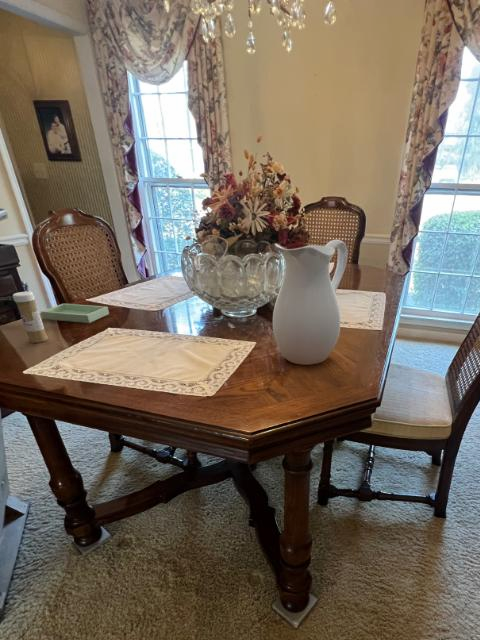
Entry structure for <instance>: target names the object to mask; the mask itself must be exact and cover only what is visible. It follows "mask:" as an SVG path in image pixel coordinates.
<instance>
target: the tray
mask: <svg viewBox="0 0 480 640" xmlns="http://www.w3.org/2000/svg"><path fill="white" fill-rule="evenodd" d="M109 315H110V311H109V307H108V306H102V305H88V304H75V303H61V304H58V305H55V306H52V307H49V308H47V309H44V310H41V311H40V316H41V317H42V320H50V321H60V322H61V321H62V322H63V321H64V322H73V323H74V322H75V323H86V324H90V323H93V322H95V321H96V320H99V319H101V318H103V317H106V316H109Z"/></svg>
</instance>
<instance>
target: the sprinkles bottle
mask: <svg viewBox="0 0 480 640" xmlns="http://www.w3.org/2000/svg"><path fill="white" fill-rule="evenodd" d="M12 297H13V298H14V301H15V302H16V304H17V306H18V309H19V310H18V311H19V314H20V318H21V321H22V324H23V326H24V330H25V331H26V334H27V336H28V337H27V338H28V341H29V342H30V343H31V344H39V343H43V342H46V341H48V339H49V338H48V336H47V333H46V330H45V326H44V324H43V319H42V318H41V317H42V316H41V313H40V312H39V309H38V307H37V304H36V301H35V299H36V298H35V296H34V293H33V292H32V291H19V292H15V293H13V294H12Z"/></svg>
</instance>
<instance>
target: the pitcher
mask: <svg viewBox="0 0 480 640" xmlns="http://www.w3.org/2000/svg"><path fill="white" fill-rule="evenodd" d="M274 246H275V248H276V250H278V251H279V252H280V253H279V254H280V255H281V256H282V257H283V259H284V264H285V269H284V277H283V279H282V283H281V285H280V288H279V291H278V294H277V297H276V300H275V304H274V306H273V307H274V308H273V312H272V331H273V336H274V341H275V343H276V347H277V348H278V350H279V351H280V353H281V354H282V356H283V357H284V358H285V360H286V361H288V362H290V363H292V364H296V365H303V366H308V365H309V366H310V365H317V364H320V363H322V362H325V361H326V360H327V359H328V357H329V356H330V355H331V354H332V352H333V350H334V349H335V347H336V345H337V342H338V339H339V337H340V331H341V324H342V323H341V320H342V317H341V309H340V305H339V301H338V297H337V294H336V292H337V290H338V287H339V285H340V282H341V280H342V278H343V275H344V273H345V270H346V267H347V262H348V257H349V251H348V245H347V244H346V243H345V242H344V241H343V240H340V239H333V240H330V241H328V242H327V243H326V244H325V245H319V244H318V245H317V244H310V245H306V246H302V247H298V248H297V247H296V248H284V247H282V246H280V245H279V244H278V243H274ZM336 250H337V262H336V268H335V271H334V275H333V277H332V278H331V275H330V262H331V260H332V258H333V257H334V255H335V253H336Z"/></svg>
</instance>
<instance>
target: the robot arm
mask: <svg viewBox="0 0 480 640" xmlns="http://www.w3.org/2000/svg"><path fill="white" fill-rule="evenodd" d="M1 309H9V310H17V311H19V309H18V306H17V304H16V302H15V301H14V298H13V296H10V295H7V296H5V297H0V310H1Z"/></svg>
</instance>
